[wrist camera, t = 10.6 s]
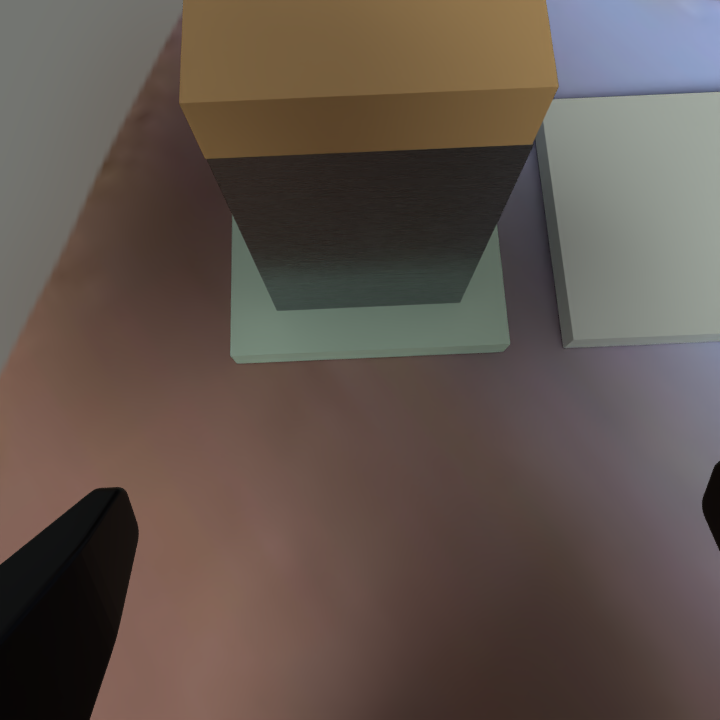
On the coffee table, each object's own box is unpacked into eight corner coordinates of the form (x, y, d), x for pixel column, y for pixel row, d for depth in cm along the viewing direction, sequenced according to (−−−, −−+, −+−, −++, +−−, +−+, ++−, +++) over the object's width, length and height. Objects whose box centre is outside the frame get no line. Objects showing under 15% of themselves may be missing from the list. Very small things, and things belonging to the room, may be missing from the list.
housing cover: (510, 190, 12) (558, 86, 9) (225, 203, 12) (178, 103, 9) (483, -37, 14) (516, -193, 10) (229, -26, 14) (190, -177, 10)
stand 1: (502, 351, 19) (510, 343, 18) (237, 363, 19) (230, 355, 18) (478, 121, 22) (483, 103, 21) (239, 131, 22) (233, 114, 21)
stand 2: (828, 336, 19) (853, 327, 18) (563, 348, 19) (573, 339, 18) (771, 107, 22) (790, 88, 21) (532, 118, 22) (540, 99, 21)
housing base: (460, 302, 19) (534, 144, 10) (276, 310, 19) (206, 159, 10) (445, 142, 20) (499, -107, 12) (275, 149, 20) (212, -95, 12)
